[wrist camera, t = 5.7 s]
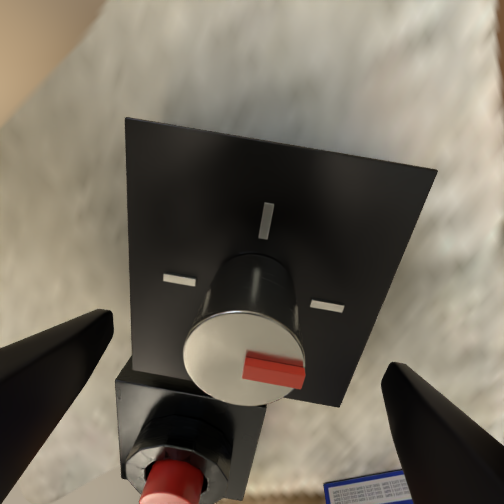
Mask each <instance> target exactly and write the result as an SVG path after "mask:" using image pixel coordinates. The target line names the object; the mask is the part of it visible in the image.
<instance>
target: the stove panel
mask: <svg viewBox="0 0 504 504" xmlns="http://www.w3.org/2000/svg"><path fill="white" fill-rule="evenodd" d="M125 142H126V175H127V208H128V241H129V274H130V307H131V340H132V370H135V371H140V372H146V373H151V374H157V375H162V376H168V377H173V378H179V379H184V380H190V381H193V380H192V379H191V378H190V376H189V374H188V372H187V371H186V368H185V365H184V360H183V347H184V343H185V340H186V338H187V335H188V333H189V331H190V329H191V326H192V324H193V322H194V320H195V318H196V315H197V313H198V311H199V309H200V307H201V304H202V302H203V300H204V298H205V295H206V293H207V291H208V289H209V287H210V284H211V282H212V280H213V278H214V276H215V274H216V272H217V271H218V269H219V268H220V267H221V266H222V265H223V264H224V263H225V262H227V261H228V260H230V259H232V258H234V257H237V256H240V255H246V254H258V255H263V256H267V257H269V258H272V259H274V260H276V261H277V262H279V263H280V264H281V265H283V266H284V267H285V268H286V269H287V271H288V272H289V273H290V275H291V276H292V279H293V281H294V284H295V290H296V297H297V304H298V311H299V319H300V326H301V333H302V340H303V347H304V354H305V375H306V376H305V379H304V382H303V385H302V388H301V389H296V388H294V390H293V391H291V392H290V393H289V394H288V395H286V396H285V397H283V398H289V399H294V400H300V401H305V402H311V403H316V404H322V405H327V406H333V407H338V408H339V407H340V405H341V403H342V401H343V398H344V396H345V393H346V391H347V388H348V386H349V384H350V381H351V379H352V376H353V374H354V372H355V369H356V367H357V364H358V362H359V360H360V357H361V355H362V352H363V350H364V348H365V345H366V343H367V340H368V338H369V336H370V333H371V331H372V328H373V326H374V324H375V321H376V319H377V316H378V314H379V312H380V309H381V307H382V304H383V302H384V300H385V297H386V295H387V292H388V290H389V288H390V285H391V283H392V280H393V278H394V276H395V273H396V271H397V268H398V266H399V263H400V261H401V259H402V256H403V254H404V251H405V249H406V247H407V244H408V242H409V239H410V237H411V235H412V232H413V230H414V227H415V225H416V223H417V220H418V218H419V215H420V213H421V211H422V208H423V206H424V203H425V201H426V199H427V196H428V194H429V191H430V189H431V187H432V184H433V182H434V179H435V177H436V175H437V172H438V170H436V169H431V168H425V167H419V166H413V165H407V164H401V163H396V162H390V161H384V160H378V159H372V158H366V157H360V156H354V155H348V154H342V153H336V152H331V151H325V150H319V149H313V148H307V147H301V146H295V145H289V144H283V143H277V142H271V141H266V140H260V139H254V138H248V137H242V136H236V135H230V134H224V133H218V132H212V131H207V130H201V129H195V128H189V127H183V126H177V125H171V124H165V123H159V122H153V121H147V120H142V119H136V118H130V117H126V118H125Z"/></svg>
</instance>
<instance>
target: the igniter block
mask: <svg viewBox="0 0 504 504" xmlns="http://www.w3.org/2000/svg"><path fill="white" fill-rule="evenodd" d="M115 390H116V404H117V419H118V434H119V449H120V464H121V478H122V479H127V480H128V481H129V482H130V483H131V484H132V485H133V486H134V488H135V489H136V490H137V491H138V492H139V493H140V494H141V495H142V492H143V489H144V487H145V484H146V481H147V479H148V476H149V473H150V471H151V468H152V465H153V464H154V463H155V462H156V461H160V460H166V459H172V460H177V461H183V462H187V463H189V464H190V465H192V466H194V467H196V468H198V469H199V470H201V472H202V473H203V475H204V481H203V486H202V490H201V495H200V500H199V504H214V503H216V502H218V501H219V500H221V499H222V498H228V499H233V500H239V501H243V497H244V494H245V490H246V486H247V482H248V478H249V474H250V470H251V466H252V463H253V459H254V455H255V451H256V447H257V443H258V439H259V435H260V432H261V428H262V424H263V420H264V416H265V412H266V408H267V404H264V405H258V406H241V405H234V404H230V403H226V402H223V401H220V400H218V399H216V398H214V397H212V396H210V395H208V394H207V393H205V392H204V391H203V390H201V389H200V388H199V387H198V386H197V385H196V384H195V383H194V382H193V381H190V380H184V379H179V378H173V377H168V376H162V375H157V374H151V373H146V372H140V371H135V370H132V356H131V357H130V359H129V360H128V362H127V363H126V365H125V366H124V368H123V369H122V370H121V372H120V373H119V375H118V376H117V378H116V379H115Z"/></svg>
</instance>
